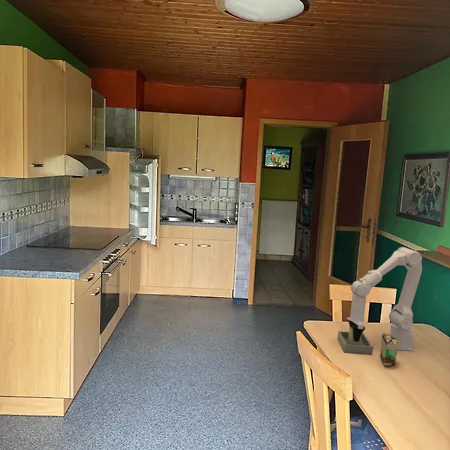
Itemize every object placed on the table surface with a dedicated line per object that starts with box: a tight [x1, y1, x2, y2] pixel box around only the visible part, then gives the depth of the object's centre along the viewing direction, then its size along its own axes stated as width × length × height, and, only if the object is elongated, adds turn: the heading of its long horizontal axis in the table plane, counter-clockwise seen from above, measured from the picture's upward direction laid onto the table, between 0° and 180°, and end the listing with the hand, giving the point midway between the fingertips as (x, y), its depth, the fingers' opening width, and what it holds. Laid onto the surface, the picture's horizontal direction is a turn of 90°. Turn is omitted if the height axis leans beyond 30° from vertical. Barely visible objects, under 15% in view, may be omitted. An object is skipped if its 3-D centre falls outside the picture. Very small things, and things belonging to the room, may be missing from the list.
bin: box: [337, 330, 374, 356], centre depth 188 cm, size 11×15×4 cm
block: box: [348, 326, 362, 345], centre depth 188 cm, size 4×4×6 cm
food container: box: [379, 332, 400, 368], centre depth 173 cm, size 12×6×10 cm, turn 168°
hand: (354, 338), depth 188 cm, fingers closed on block, 4 cm apart
